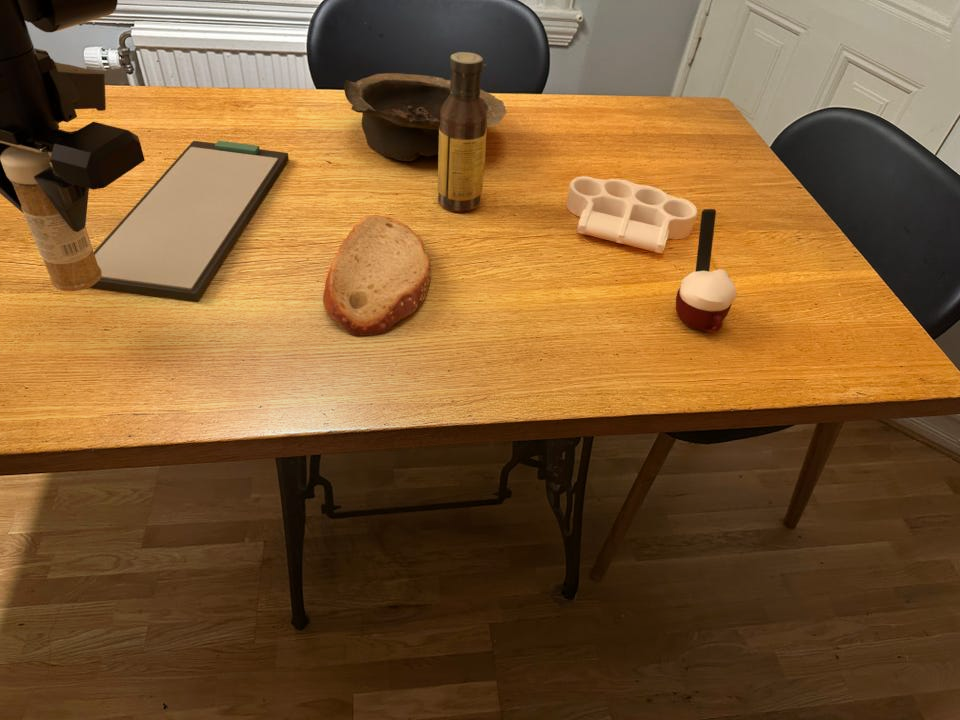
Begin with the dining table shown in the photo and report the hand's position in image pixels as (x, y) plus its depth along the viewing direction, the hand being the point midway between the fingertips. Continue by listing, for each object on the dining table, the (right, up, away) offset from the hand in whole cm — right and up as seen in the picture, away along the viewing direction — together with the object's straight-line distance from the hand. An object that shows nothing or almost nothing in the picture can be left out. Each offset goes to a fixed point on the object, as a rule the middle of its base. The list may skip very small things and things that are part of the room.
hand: (58, 223), depth 64 cm
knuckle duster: (+59, +7, +34) cm, 69 cm away
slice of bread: (+26, -3, +20) cm, 33 cm away
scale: (+2, +6, +26) cm, 27 cm away
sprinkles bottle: (-1, -5, +4) cm, 7 cm away
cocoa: (+65, -8, +20) cm, 68 cm away
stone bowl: (+30, +22, +47) cm, 60 cm away
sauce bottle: (+36, +10, +34) cm, 50 cm away
